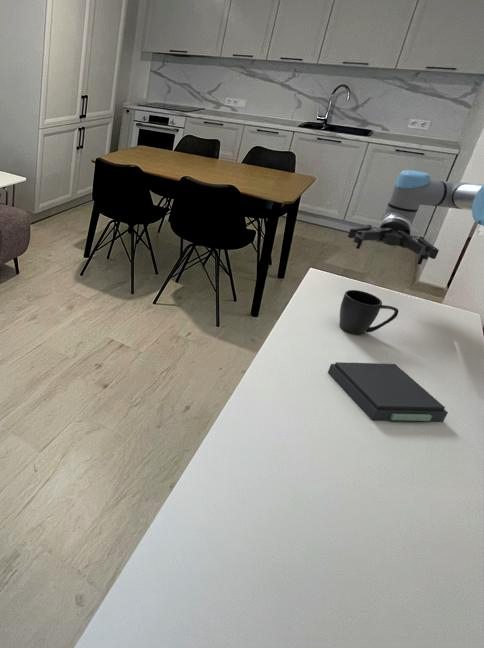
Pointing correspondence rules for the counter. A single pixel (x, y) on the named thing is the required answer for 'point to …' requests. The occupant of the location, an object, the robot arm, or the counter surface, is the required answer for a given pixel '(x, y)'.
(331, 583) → the counter surface
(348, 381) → the scale
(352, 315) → the mug
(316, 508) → the counter surface
